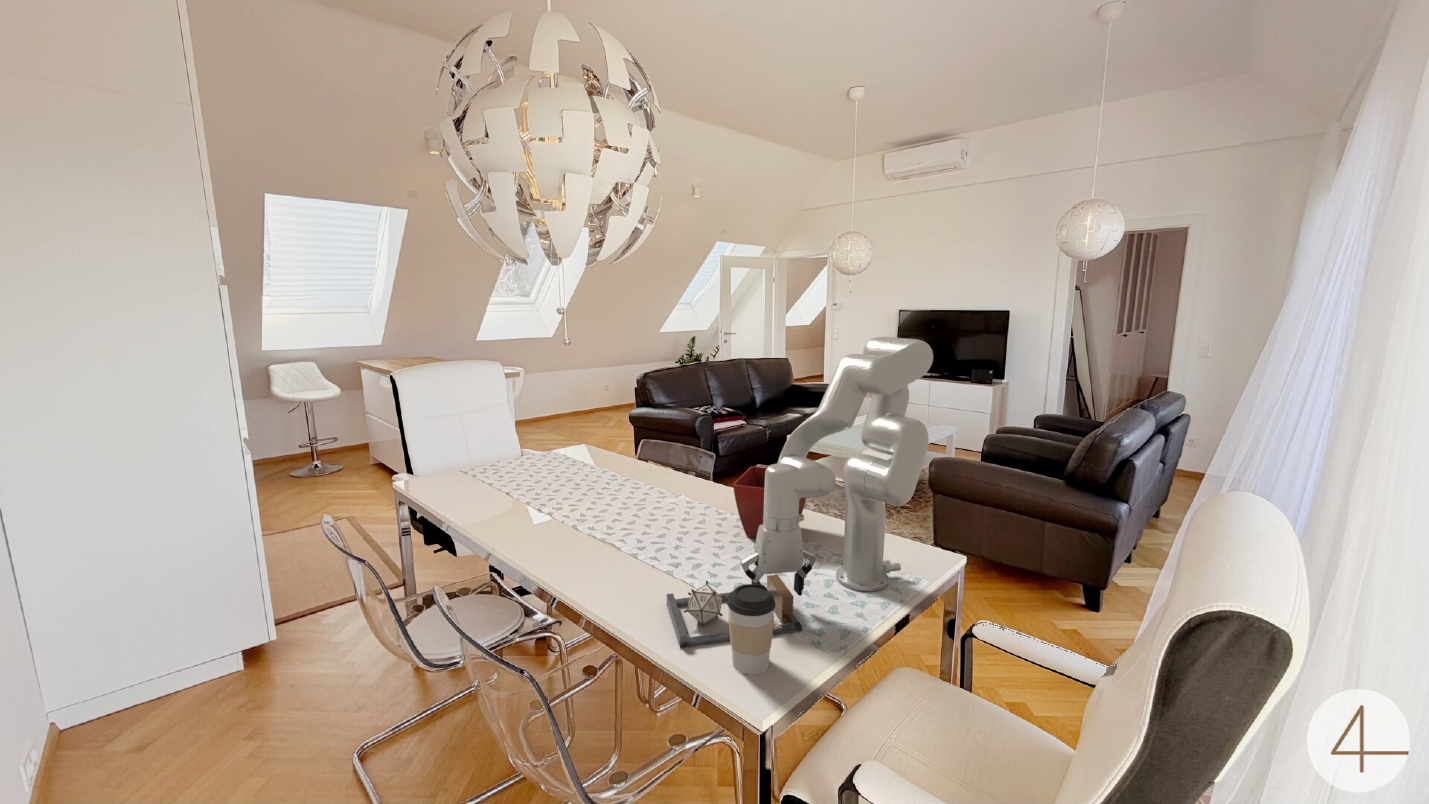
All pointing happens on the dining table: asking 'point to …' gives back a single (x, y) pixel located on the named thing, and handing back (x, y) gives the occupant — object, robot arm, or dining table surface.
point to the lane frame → (773, 586)
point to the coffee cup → (751, 627)
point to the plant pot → (753, 499)
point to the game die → (704, 604)
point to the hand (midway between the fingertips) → (777, 594)
